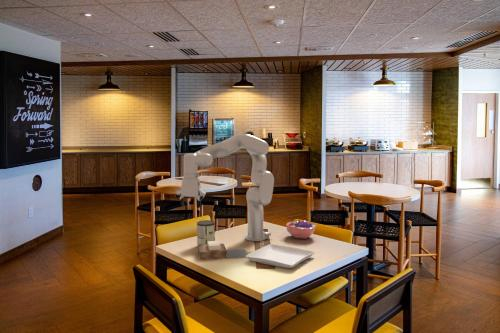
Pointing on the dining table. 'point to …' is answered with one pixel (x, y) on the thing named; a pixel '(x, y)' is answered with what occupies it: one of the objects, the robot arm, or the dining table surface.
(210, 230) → the coffee can
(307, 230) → the cell model
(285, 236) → the dining table surface
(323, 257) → the dining table surface
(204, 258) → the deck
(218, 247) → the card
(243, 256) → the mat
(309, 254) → the square plate
